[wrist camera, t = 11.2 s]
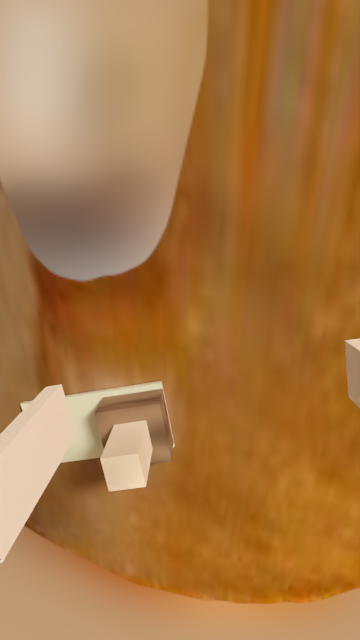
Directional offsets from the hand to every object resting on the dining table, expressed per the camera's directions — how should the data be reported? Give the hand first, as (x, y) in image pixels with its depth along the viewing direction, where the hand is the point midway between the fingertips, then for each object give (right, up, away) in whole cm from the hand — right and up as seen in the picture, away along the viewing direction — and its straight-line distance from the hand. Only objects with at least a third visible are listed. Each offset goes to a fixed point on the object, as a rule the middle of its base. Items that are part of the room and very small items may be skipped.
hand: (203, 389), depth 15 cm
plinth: (-8, -13, +41) cm, 44 cm away
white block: (-8, -15, +36) cm, 40 cm away
